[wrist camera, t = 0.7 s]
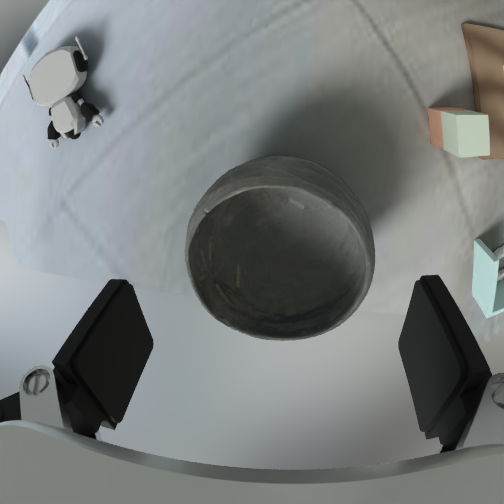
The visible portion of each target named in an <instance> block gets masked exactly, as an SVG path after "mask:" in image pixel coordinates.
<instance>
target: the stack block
mask: <svg viewBox="0 0 504 504" xmlns="http://www.w3.org/2000/svg"><path fill="white" fill-rule="evenodd" d="M427 109H428V117H429V127H430V137H431V144H433V145H435V146H437V147H439V148H441V149H443V150H445V151H447V152H449V153H451V154H453V155H455V156H457V157H473V156H489V155H490V137H489V119H488V115H487V114H483V113H479V112H475V111H471V110H467V109H463V108H458V107H440V108H427Z"/></svg>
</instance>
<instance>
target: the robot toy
mask: <svg viewBox="0 0 504 504" xmlns="http://www.w3.org/2000/svg"><path fill="white" fill-rule="evenodd" d="M75 39H76V42H77V43H78V45H79V47H80V49H81V50H80V49H79V48H78V47H77V46H63V47H59V48H56V49H54V50H52V51H50V52H48V53H46V54H45V55H44V56H43V57H42V58H41V59H40V60H39V61H38V62H37V63H36V65H35V66H34V67H33V69H32V71H31V73H30V76H29V80H28V82H29V85H28V83H27V81H26V79H25V76H24V75H22V78H23V79H24V81H25V83H26V85H27V87H28V89H29V91H30V95H31V96H32V99H33V100H34V101H35V102H36V103H37V104H38V105H40V106H48V105H52V104H53V105H52V108H50V109H49V115H50V116H51V122H50V124H49V127H48V139H51V140H50V147H51V148H57V147H58V146H59V141H58V139H57V138H59V137H60V134H61V135H62V136H63V138H71V139H77V138H78V137H79V136H80V134H81V132H82V131H83V130H84V129H85V127H86V122H85V120H87V121H88V122H90V121H92V122H93V125H94V126H96V127H100V126H101V124H102V123H103V122H104V119H103V117H102V116H100V115H98V114H99V113H100V111H99V110H98V109H97V108H96V107H95V106H94V105H93V104H90V103H86V102H84V101H83V100H82V98H83V95H82V94H81V93H80V92H76V91H77V90H78V89H79V88H80V87H81V86H82V85H83V83H84V81H85V79H86V76H87V70H88V62H87V59H88V56H87V55H86V54H85V52H84V50H83V48H82V46H81V44H80V41H79V38H78V37H77V36H76V38H75ZM75 92H76V93H75ZM74 93H75V94H74ZM73 94H74V95H73Z"/></svg>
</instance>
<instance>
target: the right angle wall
mask: <svg viewBox="0 0 504 504" xmlns="http://www.w3.org/2000/svg"><path fill="white" fill-rule="evenodd" d="M502 257H504V245H503V246H502V247H501V248H500V247H498V249H497V250H496V251H494V254H493V253H492V251H491V250H490V249H489V248H488V247H487V246H486V245H485V244H484V243H483V242H482V241H481V240H480V239H479V238H478V239H475V240H474V267H473V284H472V295H473V297H474V298H475V300H476V302H477V303H478V305H479V306H480V308H481V310H482V311H483V313H484V314H485V316H486V318H489V317H492V316H494V315H496V314H499V313H501V312H503V311H504V278H503V277H504V267H503V268H502V269H501V270H499V271H498V267H499V259H501V258H502ZM502 278H503V279H502Z"/></svg>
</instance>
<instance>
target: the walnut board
mask: <svg viewBox="0 0 504 504" xmlns="http://www.w3.org/2000/svg"><path fill="white" fill-rule="evenodd" d="M461 26H462V30H463V34H464V39H465V43H466V48H467V53H468V58H469V63H470V69H471V75H472V82H473V89H474V97H475V106H476V112H479V113H483V114H487V115H488V119H489V137H490V155H489V156H478V157H479V158H481V159H483V160H486V159H504V30H500V29H495V28H490V27H485V26H480V25H474V24H467V23H465V24H461Z"/></svg>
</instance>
